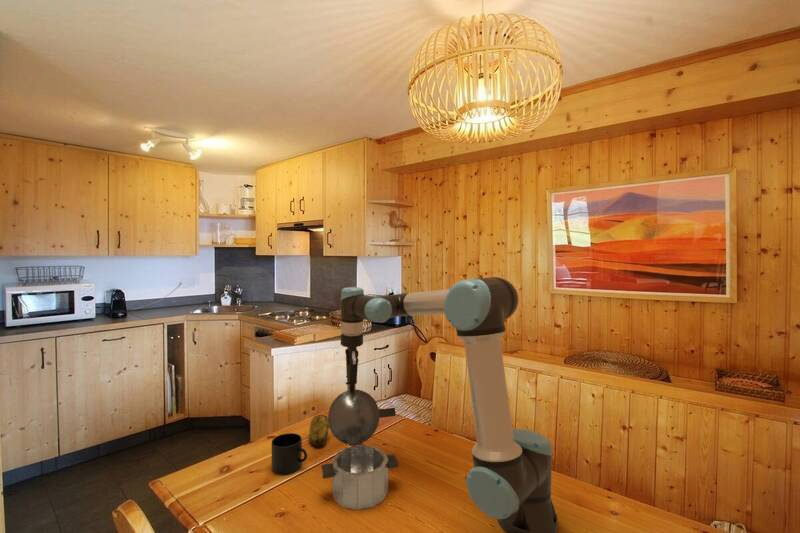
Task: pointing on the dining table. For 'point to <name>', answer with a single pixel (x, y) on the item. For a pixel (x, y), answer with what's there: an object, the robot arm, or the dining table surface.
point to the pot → (359, 476)
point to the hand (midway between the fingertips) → (351, 401)
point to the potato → (319, 430)
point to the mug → (287, 453)
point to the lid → (355, 417)
